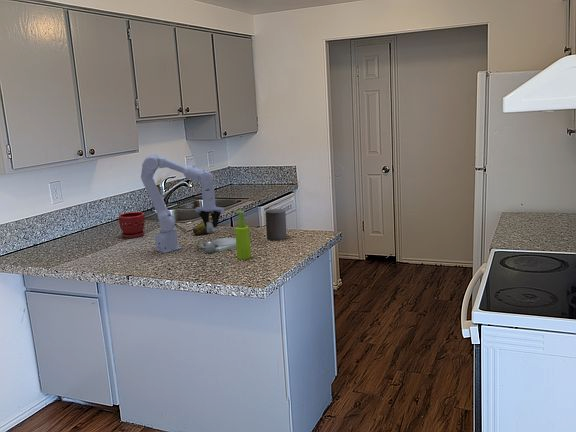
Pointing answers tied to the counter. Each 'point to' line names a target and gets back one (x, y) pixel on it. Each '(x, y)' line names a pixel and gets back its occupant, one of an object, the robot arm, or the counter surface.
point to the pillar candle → (276, 224)
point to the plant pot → (132, 224)
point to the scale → (222, 244)
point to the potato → (200, 228)
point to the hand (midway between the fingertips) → (211, 227)
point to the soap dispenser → (242, 238)
